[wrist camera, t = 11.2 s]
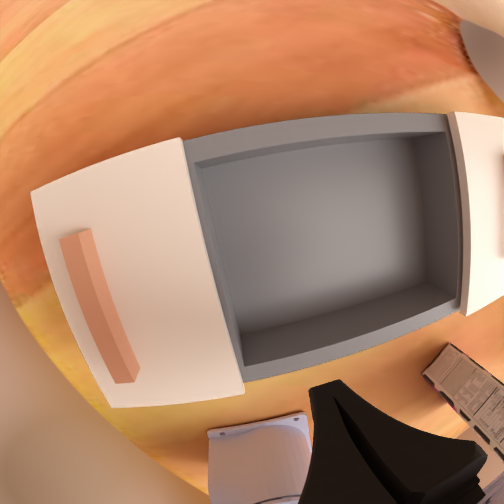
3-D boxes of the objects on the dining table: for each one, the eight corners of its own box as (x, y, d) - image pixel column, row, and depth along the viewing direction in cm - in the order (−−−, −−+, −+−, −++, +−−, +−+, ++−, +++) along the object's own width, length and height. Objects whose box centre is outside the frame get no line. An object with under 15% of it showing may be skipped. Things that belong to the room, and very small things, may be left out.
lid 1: (115, 400, 15) (105, 421, 13) (38, 191, 12) (15, 193, 10) (244, 385, 16) (246, 409, 14) (182, 140, 13) (173, 131, 10)
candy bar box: (473, 374, 26) (546, 441, 10) (448, 403, 26) (514, 477, 10) (449, 337, 23) (552, 421, 7) (418, 373, 24) (508, 473, 8)
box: (228, 344, 21) (229, 385, 16) (181, 156, 18) (165, 145, 13) (429, 287, 22) (464, 307, 17) (412, 125, 18) (452, 114, 13)
